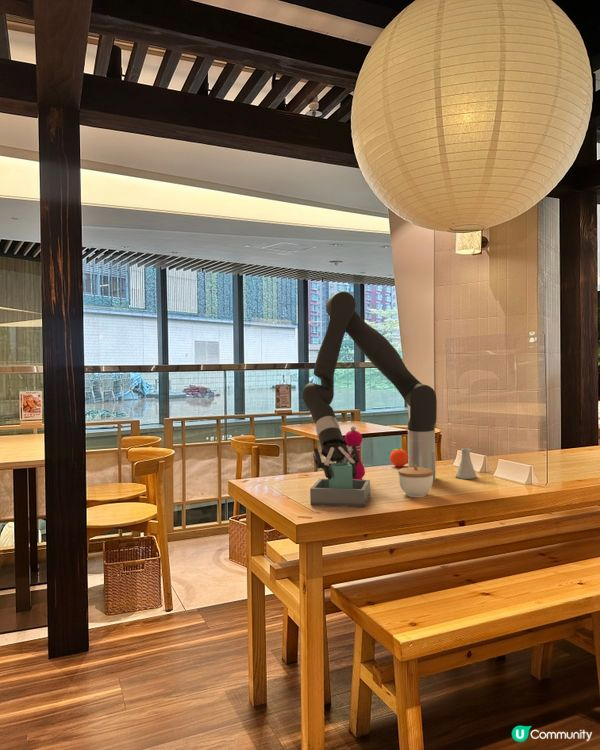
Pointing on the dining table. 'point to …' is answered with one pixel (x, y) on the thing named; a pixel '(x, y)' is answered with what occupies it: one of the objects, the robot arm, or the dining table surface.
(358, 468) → the pepper mill
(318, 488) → the tray
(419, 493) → the lidded jar
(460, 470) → the flask
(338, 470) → the teal crate
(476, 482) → the dining table surface
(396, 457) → the clementine
